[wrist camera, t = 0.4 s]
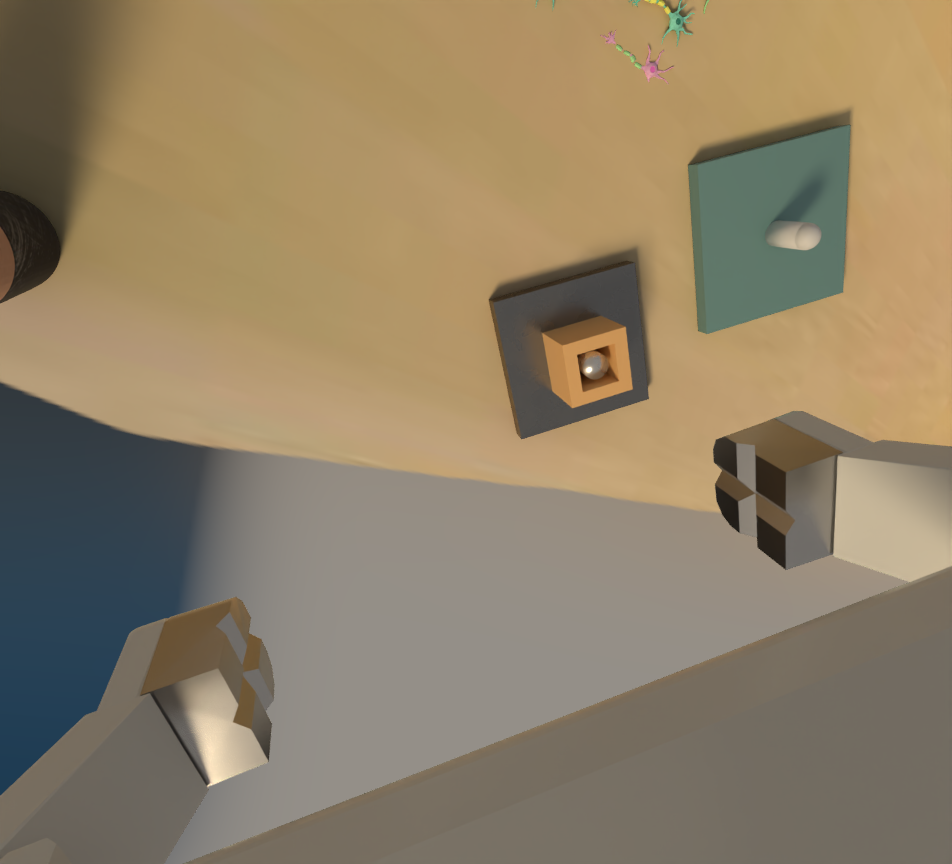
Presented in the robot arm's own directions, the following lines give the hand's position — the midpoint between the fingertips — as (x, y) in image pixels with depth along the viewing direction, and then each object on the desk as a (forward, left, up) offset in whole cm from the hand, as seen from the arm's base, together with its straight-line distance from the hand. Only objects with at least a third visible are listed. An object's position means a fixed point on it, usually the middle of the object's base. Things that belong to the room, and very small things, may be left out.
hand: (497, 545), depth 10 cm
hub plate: (+8, +40, -46) cm, 61 cm away
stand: (+14, +18, -46) cm, 51 cm away
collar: (+14, +18, -44) cm, 50 cm away
